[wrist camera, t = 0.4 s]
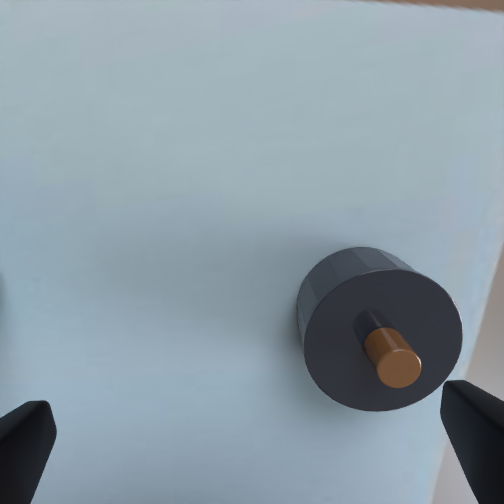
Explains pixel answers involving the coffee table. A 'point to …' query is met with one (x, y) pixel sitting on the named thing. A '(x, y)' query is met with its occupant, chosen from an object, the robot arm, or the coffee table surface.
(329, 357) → the pot lid
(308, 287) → the pot
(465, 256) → the coffee table surface
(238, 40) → the coffee table surface
